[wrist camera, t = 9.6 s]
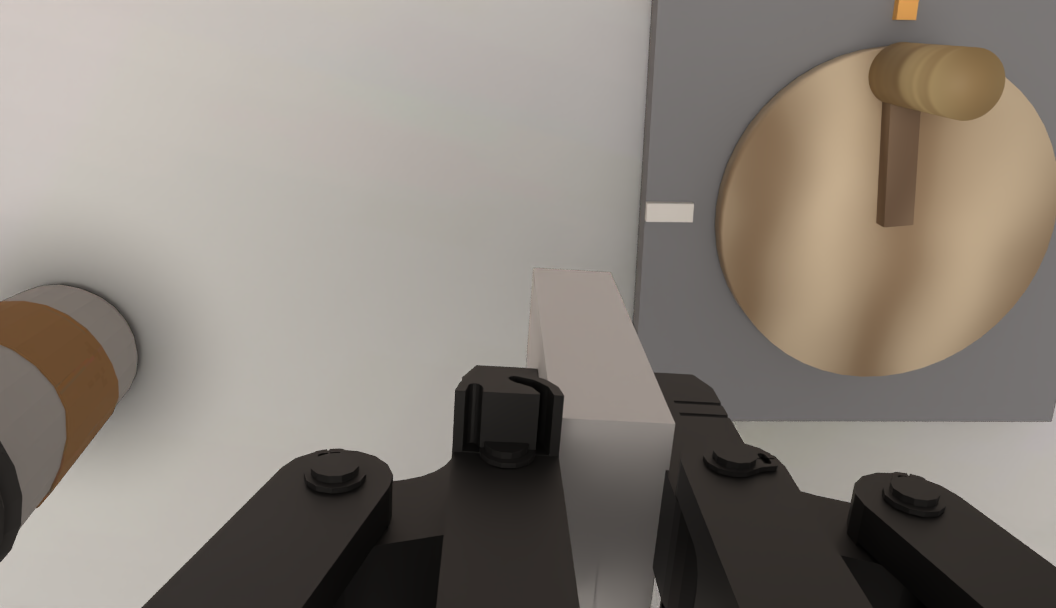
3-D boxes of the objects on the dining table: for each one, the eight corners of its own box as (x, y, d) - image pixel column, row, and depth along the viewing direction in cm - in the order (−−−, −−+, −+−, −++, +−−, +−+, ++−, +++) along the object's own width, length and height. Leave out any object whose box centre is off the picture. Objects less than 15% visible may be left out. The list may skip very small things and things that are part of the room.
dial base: (1033, 408, 43) (1056, 425, 41) (628, 406, 42) (633, 424, 40) (1128, -27, 37) (1160, -29, 35) (654, -36, 36) (662, -39, 34)
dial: (716, 376, 40) (759, 448, 33) (713, 55, 35) (762, 64, 29) (1020, 350, 40) (1123, 417, 33) (1055, 27, 36) (1182, 30, 29)
